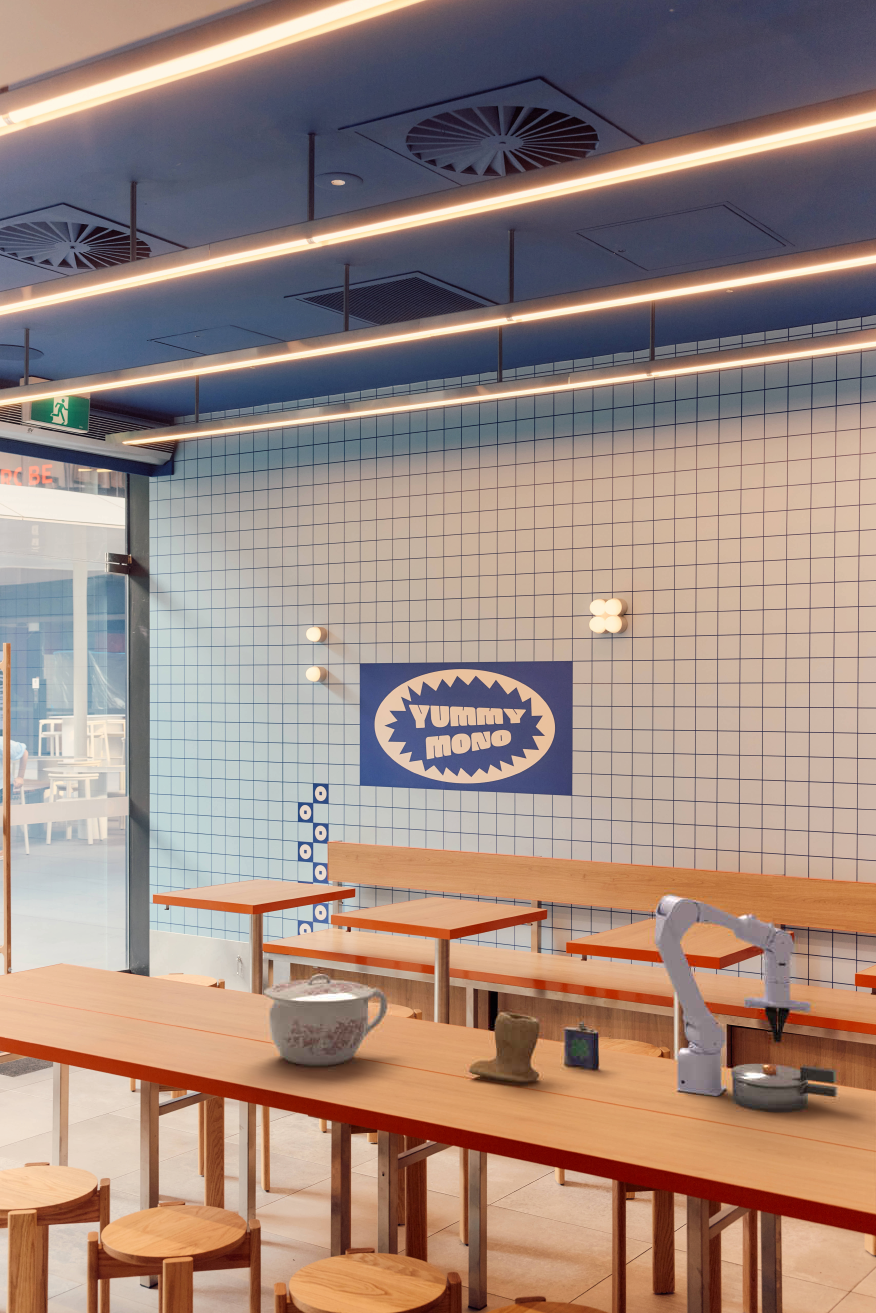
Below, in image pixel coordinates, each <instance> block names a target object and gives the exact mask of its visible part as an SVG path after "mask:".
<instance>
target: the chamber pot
mask: <svg viewBox="0 0 876 1313" xmlns="http://www.w3.org/2000/svg"><path fill="white" fill-rule="evenodd" d="M263 994H264V996H266V997H267V998H268V999H269V998H270V999H271V1000H273V1002H272V1003H273V1004H272V1005H271V1007H270V1008H269V1010H268V1026H269V1029H270V1030H269V1031H270V1036H271V1040H272V1042H273V1043H274V1045H275V1047H276V1048H277V1050H278V1052H279V1054H280V1056H282V1058H283V1059H285V1060H287V1061H289V1062H290V1063H294V1064H296V1065H301V1066H304V1067H305V1066H306V1067H326V1066H327V1067H328V1066H334V1065H339V1064H341V1063H343V1062H346V1061H348V1060H350V1059H352V1058H353V1057H354V1056H355V1054H356V1053H357V1050H359V1048H360V1046H361V1044H362V1042H363V1041H364V1039H365V1038H366V1036H367V1035H369V1033H370V1032H371V1031H372V1030H373V1029H375V1028H376V1027H377V1026H378V1025H379V1024H380V1023H381V1021H382V1020H383V1019H384V1017H385V1016H386V1014H387V1010H388V1000H387V997H386V995H385V993H384V992H383V991H382V990H381V989H379V988H378V987H374V988H372V987H370V986H368V985H365V984H361V983H359V982H353V981H349V980H340V979H339V980H338V979H331V978H330V976H328V975H325V974H322V973H319V974H315V975H312V976H311V978H310V979H301V980H293V981H287V982H281V983H278V984H275V985H272V986H269V987H267V988H266V989H265V990H263ZM375 997H376V998H378V999H379V1011H378V1013H377V1014H376V1015H375V1017H374V1018H373V1019H372V1021H371V1022H369V1000H371V998H375Z"/></svg>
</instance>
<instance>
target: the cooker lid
mask: <svg viewBox="0 0 876 1313" xmlns="http://www.w3.org/2000/svg"><path fill="white" fill-rule="evenodd" d="M730 1072H731V1078H732V1077H733V1078H734V1079H736V1080H738V1081H740V1082H744V1083H747V1084H752V1085H757V1086H764V1087H779V1088H786V1087H798V1086H802V1085H805V1084H807V1083H809V1081H813V1082H821V1083H829V1084H835V1082H837V1069H835V1068H834V1069H833V1068H827V1067H819V1066H813V1065H806V1064H802V1065H801V1066H800V1068H799V1069H798V1068H795V1067H791V1066H785V1065H779V1064H772V1063H747V1064H746V1063H745V1064H740V1065H736V1066H734V1067H732V1068H731V1071H730Z"/></svg>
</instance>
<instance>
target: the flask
mask: <svg viewBox="0 0 876 1313" xmlns="http://www.w3.org/2000/svg"><path fill="white" fill-rule="evenodd" d="M585 1024H586V1022H585V1021H583V1022H578V1023H577V1025H578V1027H572V1026H571V1027H568V1026H567V1027H564V1030H563V1032H564V1033H563V1034H564V1040H563V1041H564V1042H563V1043H564V1046H563V1047H564V1048H563V1049H564V1050H563V1051H564V1055H563V1059H564V1060H563V1064H564V1066H566V1067H572V1068H576V1067H581V1068H580V1069H583V1068H587V1069H586V1070H588V1069H589V1070H590V1069H592V1070H591V1071H596V1070H597V1069H599V1070H600V1056H599V1055H600V1054H599V1053H600V1052H599V1051H600V1050H599V1045H600V1044H599V1041H600V1040H599V1032H598V1030H595V1029H593V1028H591V1029H589V1028H588V1027H587V1026H586V1025H585ZM597 1071H598V1070H597Z"/></svg>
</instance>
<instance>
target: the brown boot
mask: <svg viewBox="0 0 876 1313" xmlns="http://www.w3.org/2000/svg"><path fill="white" fill-rule="evenodd" d="M539 1034H540V1022H539V1020H538V1019H537V1018H535V1017H533V1016H530V1015H523V1014H519V1013H512V1012H500V1013H499V1014H498V1015H497V1016H496V1019H495V1023H494V1040H495V1047H496V1049H495V1050H496V1054H495V1057H494V1058H493V1059H490V1060H487V1059H486V1060H485V1059H484V1060H478V1061H475V1062H474V1063H471V1065H470V1066H469V1069H468V1072H469V1073H470V1074H473V1075H476V1076H479V1077H485V1078H488V1079H495V1080H501V1081H507V1082H516V1083H517V1082H518V1083H520V1082H521V1083H530V1082H532V1081H536V1080H537V1079H538V1078H539V1077H540V1074H539V1071H537V1070H536V1069H534V1068H533V1067H532V1064H531V1061H532V1056H533V1053H534V1051H535V1049H536V1046H537V1043H538V1039H539Z"/></svg>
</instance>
